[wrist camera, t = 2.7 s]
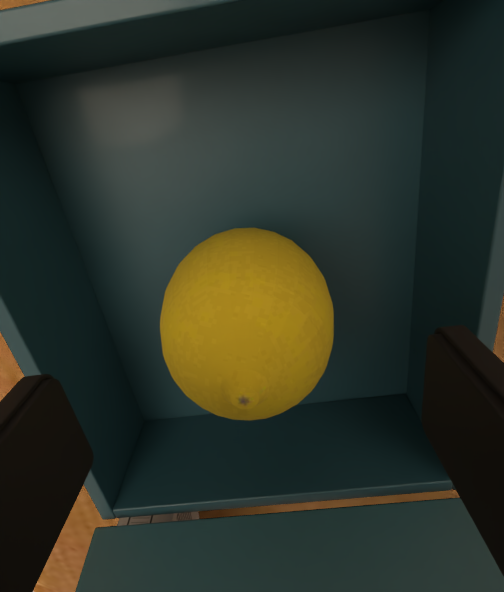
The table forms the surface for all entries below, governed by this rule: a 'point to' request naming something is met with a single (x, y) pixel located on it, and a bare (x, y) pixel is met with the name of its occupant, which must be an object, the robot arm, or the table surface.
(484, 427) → the robot arm
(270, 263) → the lemon
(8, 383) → the table surface
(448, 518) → the lid
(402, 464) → the chest
